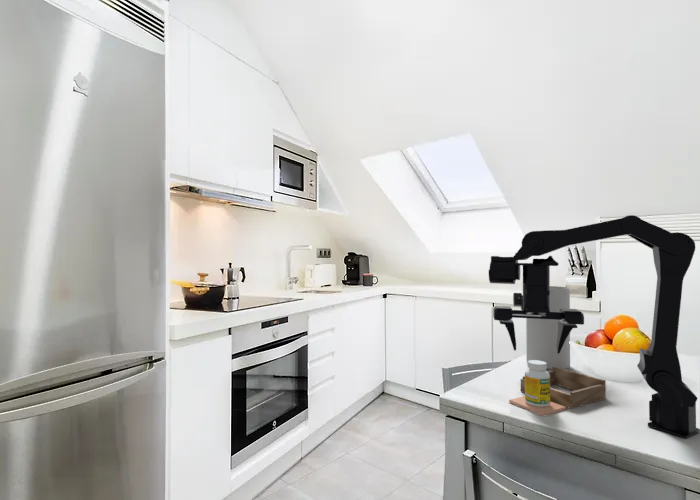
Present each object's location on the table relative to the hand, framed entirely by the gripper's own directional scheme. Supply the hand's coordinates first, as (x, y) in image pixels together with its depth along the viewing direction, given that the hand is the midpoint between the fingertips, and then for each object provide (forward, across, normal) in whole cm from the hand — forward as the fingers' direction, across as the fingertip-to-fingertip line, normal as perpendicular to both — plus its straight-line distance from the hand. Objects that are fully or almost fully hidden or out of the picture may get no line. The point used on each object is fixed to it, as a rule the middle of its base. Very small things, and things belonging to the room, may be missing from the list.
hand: (536, 351), depth 92 cm
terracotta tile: (+13, 0, 0) cm, 13 cm away
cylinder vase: (+13, -9, -38) cm, 42 cm away
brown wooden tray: (+13, -7, -10) cm, 18 cm away
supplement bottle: (+12, 0, 0) cm, 12 cm away
